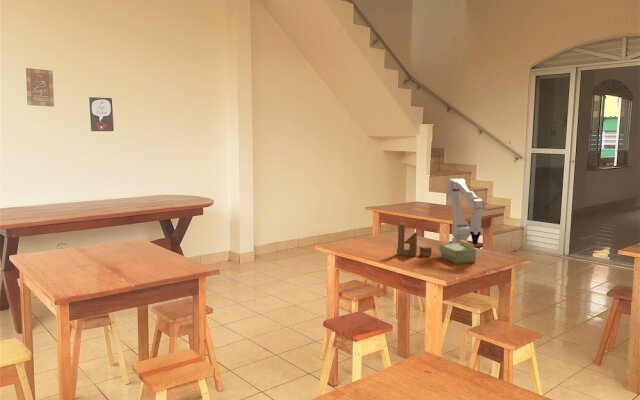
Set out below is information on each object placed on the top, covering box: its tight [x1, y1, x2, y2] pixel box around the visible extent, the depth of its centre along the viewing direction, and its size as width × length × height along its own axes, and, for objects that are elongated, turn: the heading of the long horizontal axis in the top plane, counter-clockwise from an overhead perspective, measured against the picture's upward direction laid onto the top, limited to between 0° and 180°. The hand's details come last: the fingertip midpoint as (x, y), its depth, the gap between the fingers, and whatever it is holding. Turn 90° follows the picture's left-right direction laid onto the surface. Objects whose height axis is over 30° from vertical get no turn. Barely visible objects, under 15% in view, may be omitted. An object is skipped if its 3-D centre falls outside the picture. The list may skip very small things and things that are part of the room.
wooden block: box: [396, 223, 418, 258], centre depth 303 cm, size 4×11×18 cm, turn 68°
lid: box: [438, 240, 477, 258], centre depth 294 cm, size 16×13×6 cm
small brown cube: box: [419, 245, 432, 258], centre depth 303 cm, size 4×5×5 cm
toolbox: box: [440, 250, 477, 265], centre depth 295 cm, size 16×12×6 cm
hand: (474, 244), depth 297 cm, fingers closed
